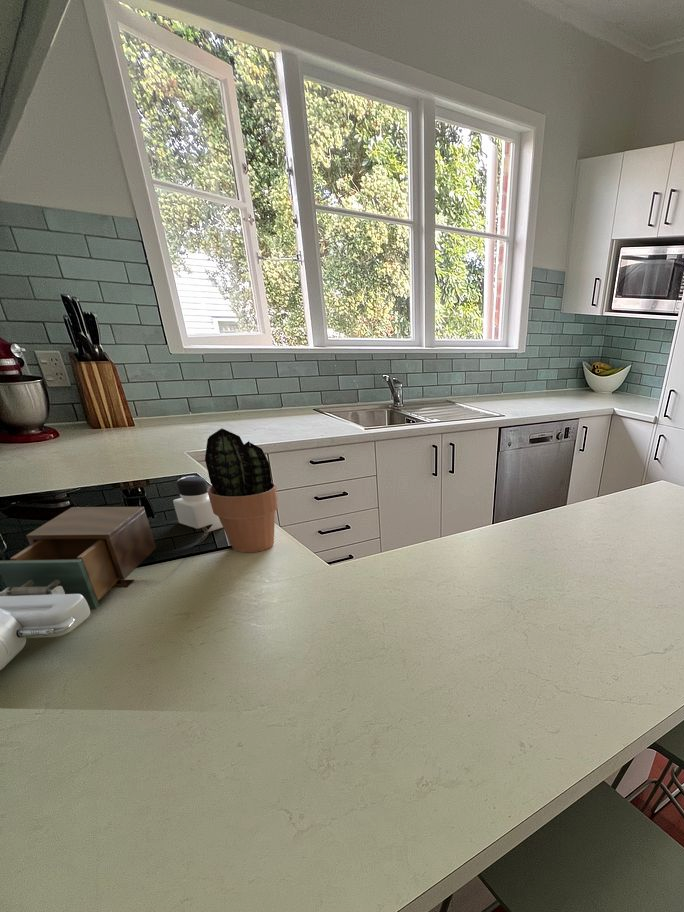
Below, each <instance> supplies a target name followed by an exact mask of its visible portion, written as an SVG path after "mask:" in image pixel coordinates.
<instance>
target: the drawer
mask: <svg viewBox="0 0 684 912" xmlns="http://www.w3.org/2000/svg"><path fill="white" fill-rule="evenodd" d="M0 577H1V578H2V581H3V582H4V584H5V586H6V587H5V588H8V587H13V588H12V589H11V594H12V595H13V596H24V595H48V594H47V591H46V590H47V589H48V588H50V586H62V587H63V590H64V592H65V594H81V595H82V596H83V597H84V598H85V600H86V601H87V603H88V606H89V609H90V610H97V609H98V608H99V607H100V603H99V601H100V600H101V599H102V598H103V597H104V596H105V595H106V594H107V593H108V592H109V591H110V590H111V589H113V588H112V587H113V586H114V585H115V584H116V583H117V582H118V581H119V580H120V579H119V576H118V573H117V570H116V567H115V564H114V562H113V559H112V556H111V553H110V550H109V547H108V544H107V542H106V539H39V540H38V541H36V542H35V543H33V544H32V545H30V544H29V545H28V546H27V547H26V548H25V547H24V549H23V550H21V551H19V552H18V553H16V554H15V555H13V556H12V557H10V560H9V559H8V560H0Z"/></svg>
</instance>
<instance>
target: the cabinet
mask: <svg viewBox="0 0 684 912" xmlns="http://www.w3.org/2000/svg"><path fill="white" fill-rule="evenodd" d="M25 536H26V538H27V541H28V542H29V546H30V545H32V544H33V543H35V542H36V541H38V540H39V539H106V542H107V544H108V547H109V550H110V553H111V556H112V559H113V562H114V564H115V567H116V570H117V573H118V576H119V578H118V580H119V581H118V582H117V583H116V584H115V585H114V586H113V587H112V588H111V589H125V588H128V587H129V586H130V585H131V584H132V583H133V582H134V581H135V579H127V578H128V576H130V575H131V573H133V572H134V571H135V570H136V568H138V567H139V566H140V565H141V564H142V562H144V561H145V560H146V559H147V558H148V557H149V556H151V554H152V553H153V552H154V551H155V550H156V549H157V546H156V543H155V540H154V536H153V533H152V529H151V526H150V523H149V520H148V516H147V512H146V509H145V507H144V506H72V507H69V508H68V509H66V510H64V511H63V512H62V513H60V514H59V515H56V516H55V517H54V518H51V519H50V520H48V521H47V522H45V523H44V524H42V525H41V526H39V527H37V528H36V529H34V530H33V531H31V532H30V533H28V534H26V535H25Z"/></svg>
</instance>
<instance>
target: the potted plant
mask: <svg viewBox="0 0 684 912" xmlns="http://www.w3.org/2000/svg"><path fill="white" fill-rule="evenodd" d="M205 447H206V448H205V457H204V461H205V465H206V469H207V475H208V478H209V482H210V484H211V485H209V486H208V489H207V492H208V496H209V499H210V502H211V506H212V509H213V513H214V514H215V515H217V516H218V517H219V519H220V522H221V524H222V526H223V528H222V529H223V531H224V532H225V535H226V537H227V539H228V542H229V544H230V546H231V548H232V549H233V550H234V551H236V552H240V553H258V552H262V551H266V550H268V549H270V548H271V547H273V546H274V543H275V524H276V511H277V510H278V507H279V502H278V494H277V486H276V484H275V482H273V480H272V474H271V473H272V472H271V466H270V462H269V460H268V458H267V456H266V454H265V452H264V450H263V448H261V447H260V446H257V445H256V444H254V443H252V442H251V441H250V440H248V441H247V442H246V443H244V442H243V440H242V439H241V437H240V435H238V434H236V433H233V432H231V431H230V430H227V429H224V428H219V429H218V430H217V431H215V432H214V433H212V434H211V435H209V436H208V437H207V441H206V446H205Z"/></svg>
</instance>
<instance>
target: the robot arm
mask: <svg viewBox="0 0 684 912" xmlns="http://www.w3.org/2000/svg"><path fill="white" fill-rule="evenodd" d="M12 588H13V587H8V588H7V587H5V588H4V589H3V590H2V591H0V671H1V670H3V669H4V668H5V667H6V666H7V665H8V664H9V663H10V662H11V661H12V660H13V659H14V658H15V657H16V656H17V655H18V654H19V653H20V652H21V651H22V650H23V649H24V647H25V646H26V643H27V639H30V638H31V639H36V638H54V637H55V638H56V637H61V636H64V635H67V634H69V633H70V632H72V631H74V630H75V629H77V627H78V626H80V625H81V624H82V623H83V622H85V620H87V618H89V617H90V615H91V609H89V606H88V603H87V601H86V600H85V598H84V597H83V596H82V595H81V594H65V592H64V590H63V587H62V586H50V588H48V589H47V590H46V591H47V594H48V595H24V596H13V595H12V594H11V589H12Z"/></svg>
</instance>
